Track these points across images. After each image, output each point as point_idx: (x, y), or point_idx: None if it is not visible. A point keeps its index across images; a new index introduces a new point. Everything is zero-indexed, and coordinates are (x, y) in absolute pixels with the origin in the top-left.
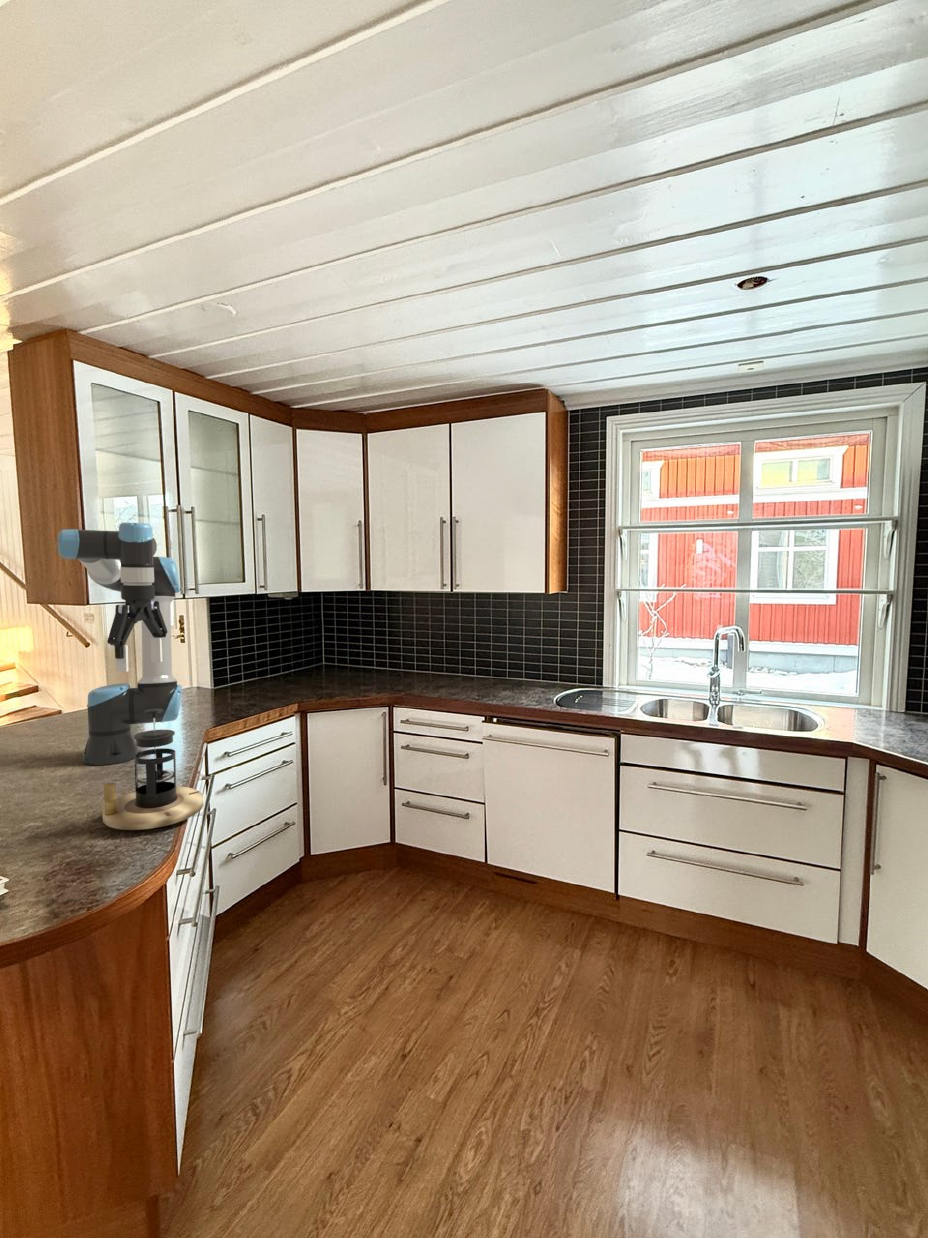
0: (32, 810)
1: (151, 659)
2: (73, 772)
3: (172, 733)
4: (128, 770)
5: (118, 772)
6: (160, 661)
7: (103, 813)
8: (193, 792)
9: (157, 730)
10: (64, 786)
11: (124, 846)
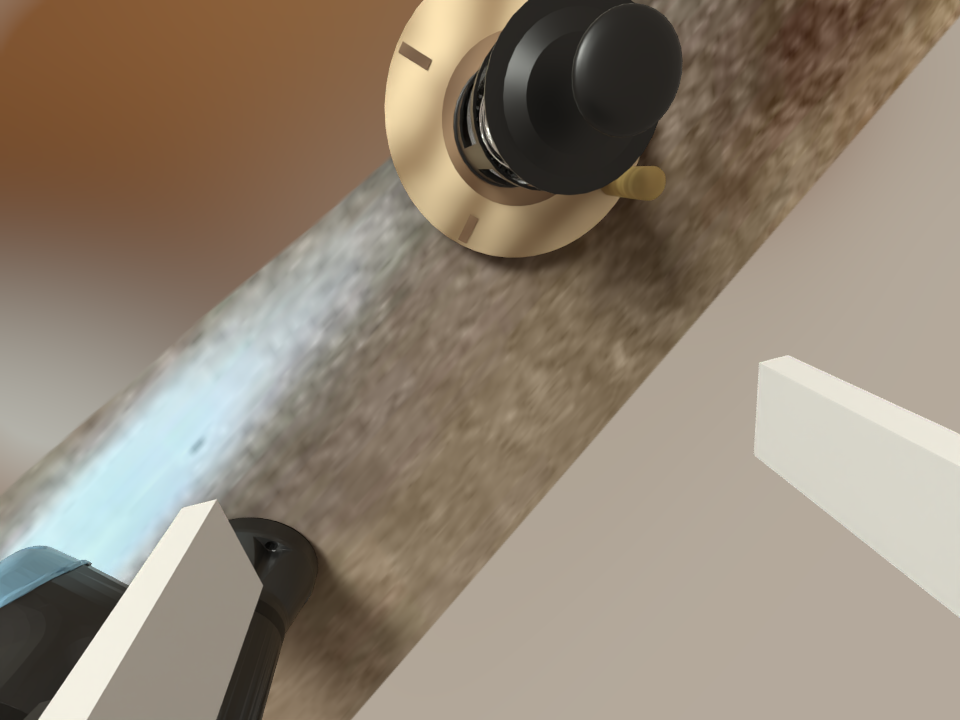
0: (566, 423)
1: (252, 605)
2: (369, 546)
3: (536, 8)
4: (295, 460)
5: (319, 468)
6: (214, 505)
7: (617, 199)
8: (414, 60)
9: (536, 121)
10: (442, 488)
11: (683, 45)
